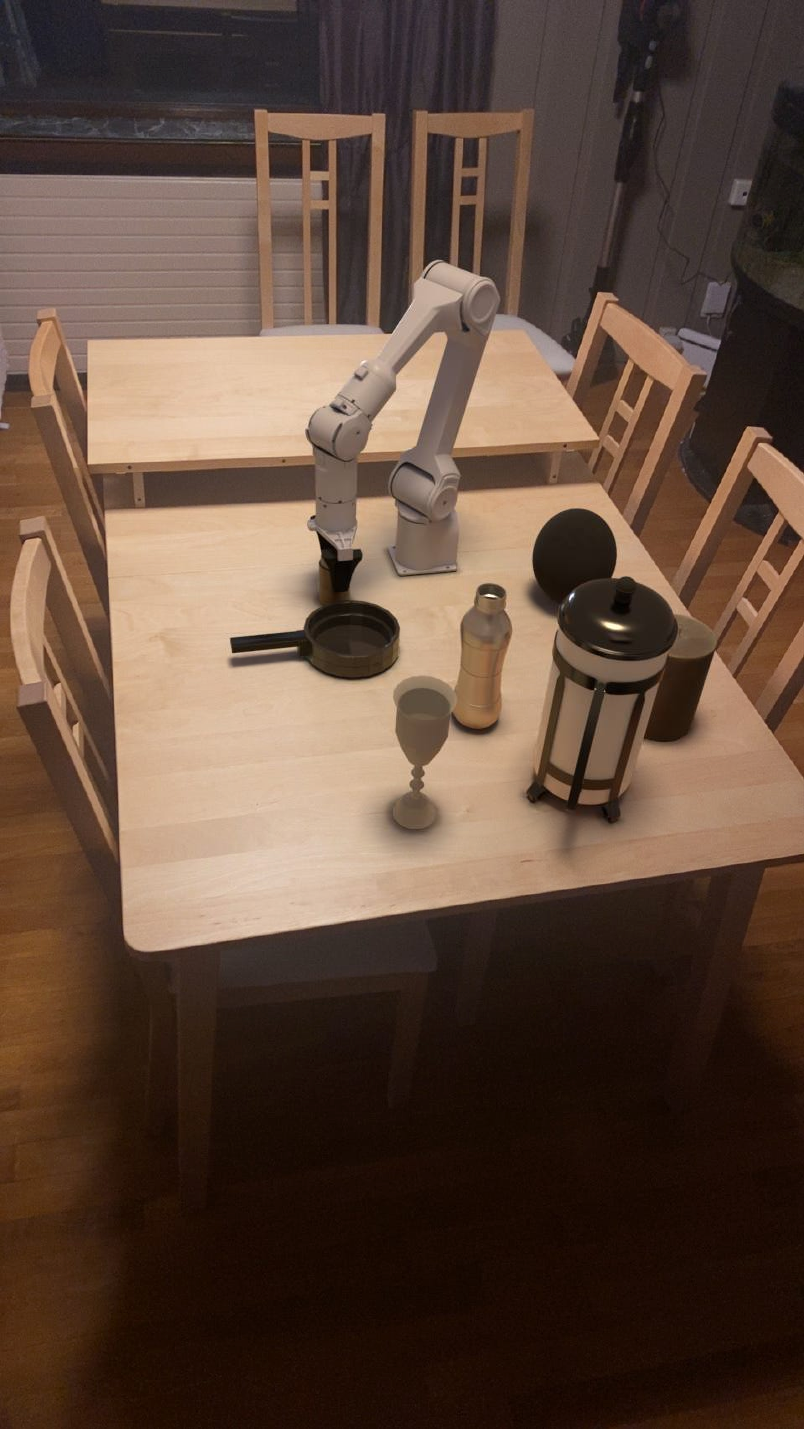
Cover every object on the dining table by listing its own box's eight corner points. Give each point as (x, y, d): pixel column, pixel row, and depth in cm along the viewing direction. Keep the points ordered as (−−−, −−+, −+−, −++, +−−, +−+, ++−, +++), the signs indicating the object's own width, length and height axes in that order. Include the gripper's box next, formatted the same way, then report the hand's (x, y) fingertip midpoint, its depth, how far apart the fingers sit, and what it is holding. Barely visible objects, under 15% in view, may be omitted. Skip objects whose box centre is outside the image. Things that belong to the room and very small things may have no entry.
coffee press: (490, 758, 126) (521, 554, 106) (598, 730, 131) (648, 530, 111) (558, 858, 114) (608, 649, 94) (674, 822, 119) (745, 617, 99)
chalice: (383, 791, 120) (390, 675, 108) (439, 790, 121) (452, 675, 109) (387, 837, 115) (395, 720, 103) (446, 835, 116) (460, 719, 104)
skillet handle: (306, 645, 140) (306, 629, 138) (309, 656, 138) (309, 640, 136) (230, 653, 138) (229, 636, 136) (233, 664, 136) (231, 648, 134)
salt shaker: (346, 590, 152) (347, 546, 147) (352, 607, 149) (353, 563, 143) (316, 593, 151) (316, 548, 146) (321, 610, 148) (321, 565, 142)
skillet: (386, 618, 147) (387, 596, 144) (408, 674, 137) (409, 651, 135) (297, 627, 144) (297, 604, 142) (313, 685, 135) (313, 661, 132)
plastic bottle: (466, 741, 128) (482, 613, 115) (440, 709, 132) (453, 582, 119) (508, 727, 130) (530, 600, 117) (482, 696, 135) (500, 571, 122)
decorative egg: (622, 612, 151) (643, 526, 142) (553, 630, 147) (570, 542, 137) (577, 570, 160) (594, 486, 150) (510, 586, 155) (524, 500, 145)
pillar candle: (685, 749, 129) (715, 658, 119) (611, 729, 131) (634, 637, 121) (696, 704, 136) (725, 614, 126) (625, 686, 138) (648, 596, 128)
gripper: (298, 470, 142) (300, 551, 151) (316, 522, 132) (317, 607, 141) (347, 467, 144) (346, 548, 153) (368, 518, 134) (366, 602, 142)
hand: (335, 576), depth 147 cm, fingers open, 7 cm apart
